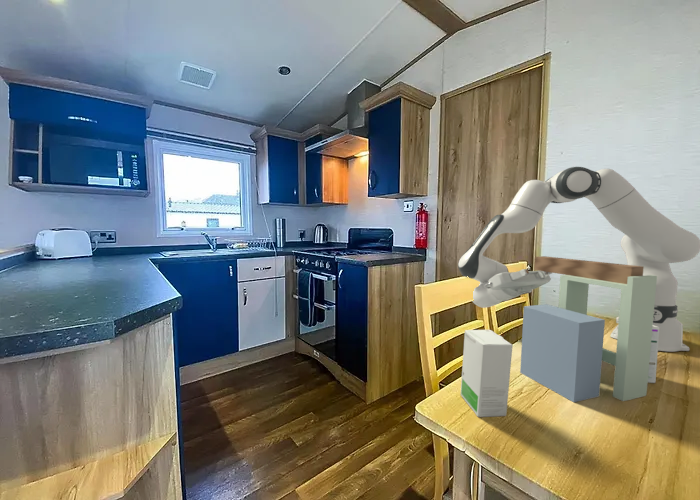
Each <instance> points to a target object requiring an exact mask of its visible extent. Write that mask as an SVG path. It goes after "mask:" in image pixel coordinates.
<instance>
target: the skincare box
mask: <svg viewBox="0 0 700 500" xmlns="http://www.w3.org/2000/svg"><path fill="white" fill-rule="evenodd" d="M513 347H514V346H513V343H511V342H509V341H507V340H506V339H504V337H503V336H502V335H500V334H497V333H496V332H495V331H493V330H491V329H467V330H466V329H465V330H464V339H463V352H462V353H463V354H462V355H463V356H462V366H461V367H462V369H461V370H462V371H461V381H460V383H461V384H460V397H462V399H463V400H464V402H465V403H466V404H467V405H468V406H469V408H470V409H471V410H472V412H474V413H475V416H476V417H478V418H490V417H493V418H495V417H507V414H508V413H507V411H508V400H509V390H510V388H509V387H510V378H511V367H512V366H511V365H512V355H513V354H512V353H513Z"/></svg>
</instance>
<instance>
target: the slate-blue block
mask: <svg viewBox="0 0 700 500" xmlns="http://www.w3.org/2000/svg"><path fill="white" fill-rule="evenodd" d="M522 315H523V316H522V317H523V318H522V335H521V337H522V338H521V350H520V351H521V352H520V354H521V355H520V371H519V372H520V374H521V375H524V376H525V377H527V378H529V379H531V380H533V381H535V382H537V383H538V384H540V385H542V386H544V387H545V388H547V389H549V390H551V391H552V392H555V393H556V394H559V395H560V396H562V397H563V398H565V399H567V400H569V401H571V402H573V403H577V402H581V401H585V400H590V399H594V398H598V397H600V389H601V376H602V365H603V364H602V363H603V361H602V352H603V348H604V337H605V324H606V320H605V319H602V318H600V317H595V316H592V315H588V314H587V315H585V314H581V313H578V312H574V311H570V310H566V309H563V308H559V307H558V306H555V305H551V304H547V303H546V304H535V305H526V306H523V314H522Z"/></svg>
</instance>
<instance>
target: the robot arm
mask: <svg viewBox="0 0 700 500" xmlns="http://www.w3.org/2000/svg"><path fill="white" fill-rule="evenodd" d="M583 198H585V199H587V200H589V202H591V203H592V204H593V206H594V207H595V208H596V209H597V211H598V212H600V214H601V215H602V216H603V217H604V218H605V219H606V221H608V223H609V224H611V225H610V226H612V227H613V228H615V229H617V230H618V231H619V232H621V233H622V234H624V235H623V236H622V238H621V240H620V246H621V249H622V251H623V252H624V254H625V257H626V261H627V265H634V266H643V276H647V275H653V276H657V282H656V293H655V304H654V315H653V325H654V326H657V327H659V342H658V352H659V351H660V352H661V351H662V352H668V353H669V352H673V353H674V352H679V351H681V352H682V351H683V352H685V351H686V352H689V351H690V347H689V346H688V345H687V344H685V343H683V337H684V336H683V332H684V331H683V329H684V328H683V327H684V324H683V323H682V322H681V321H680V320H678V319H677V316H678V311H679V309H678V305H677V296H678V295H677V294H678V284H679V283H678V280H677V277H676V276H675V275H674V274H673V272H672V269H671V266H670V264H677V263H682V262H687V261H690V260H692V259H694V258H695V257H697V256H698V254H699V253H700V238H699V237H698V235H696V234H695V233H693V232H692V231H689V230H687V229H684V228H683V227H681V226H679V225H678V224H677V223H675V222H674V221H673V220H671V218H670V219H669V218H668V217H667V216H665V215H664V214H662V213H661V212H660V211H658V210H657V209H656V208H654V207H653V206H652V205H651V204H650V203H649V202H648V201H647V200H646V198H644V196H643V195H642V194H641V193H640V192H639V191H638V190H637V189H636V187H634V186H633V184H631V182H629V180H627V179H626V178H625V177H624V176H622V175H621V174H620V173H618V172H617V171H616V170H613V169H611V168H601V169H598V170H595V171H594V170H592V169H590V168H587V167H582V166H571V167H568V168H566V169H563V170H561V171H559V172H557V173H556V174H554V175H553V176H551V177H549V178H548V179H547V180H545V181H543V180H539V179H531V180H527V181H526V182H525V183H523V185H522V186H521V187H520V188H519V190H518V191H517V192H516V194H515V195H514V197H513V199H512V200H511V203H510V204H509V206H508V207H507V208H506V209H505V211H504V212H503V213H500V214H497V215H495V216H493V217H492V218H491V219H490V220H489V222H488V223H487V224H486V225H485V226H484V228H483V229H482V231H481V232H480V234H479V235H478V236H477V237H476V238H475V240H474V241H473V243H472V244H471V246H469V248H468V249H467V250H466V251H464V253H463V255H461V256H460V258H459V260H458V263H457V267H458V270H459V272H460V274H461V276H463V277H465V278H468V277H469V279H472V280H475V281H477V282H480V284H479V283H478V284H479V286H478V285H477V286H478V287H477V286H475V288H473V289H474V291H473V299H474V301H472V300H471V302H472V303H473V304H474V305H476V306H477V307H479V308H483V309H485V308H490V307H491V308H492V307H493V306H496V305H498V304H499V305H500V303H501V302H506V301H509V300H511V299H515V298H516V297H519V296H523V295H528V294H530V293H531V292H532V291H533V290H535V289H537V288H540V287H541V286H542V287H543V285H546V284H547V283H549V282H550V281H551V280H552V278H551V276H550V275H551V274H553V273H551V272H545V271H539V270H532V271H530V270H529V269H527V268H524V269H523V268H522V269H520V270H519V271H513V272H512V271H511V272H509V269H508V266H507V265H506V264H503V263H501V262H499V261H498V260H496V259H492V258H490V257H488V256H485V255H483V254H484V253H485V251H486V250H487V249H488V247H489V246H490V244H492V242H493V241H494V240H495V238H496V237H498V236H499V235H501V234H522V233H523V234H524V233H527V232H529V231H531V230H533V229H534V228H535V227H536V226H537V224H538V223H539V221H540V220H541V218H542V216H543V214H544V212H545V211H546V209H547V207H548V206H549V205H550V204H564V203H570V202H574V201H576V200H579V199H583ZM467 276H468V277H467ZM615 323H616V324H617V325H616V326H615V328H614V329H613V330H612V331H611V333H610V336H609V337H610V338H613V339H616V340H617V337H618V324H619V316H616V320H615Z"/></svg>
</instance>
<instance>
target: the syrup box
mask: <svg viewBox="0 0 700 500" xmlns="http://www.w3.org/2000/svg"><path fill="white" fill-rule="evenodd" d="M658 342H659V327H657V326H654V325H653V327H652V338H651V349H650V360H649V371H648V383H649V384H656V379H657V367H658V353H659V350H658ZM648 383H647V384H648Z"/></svg>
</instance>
